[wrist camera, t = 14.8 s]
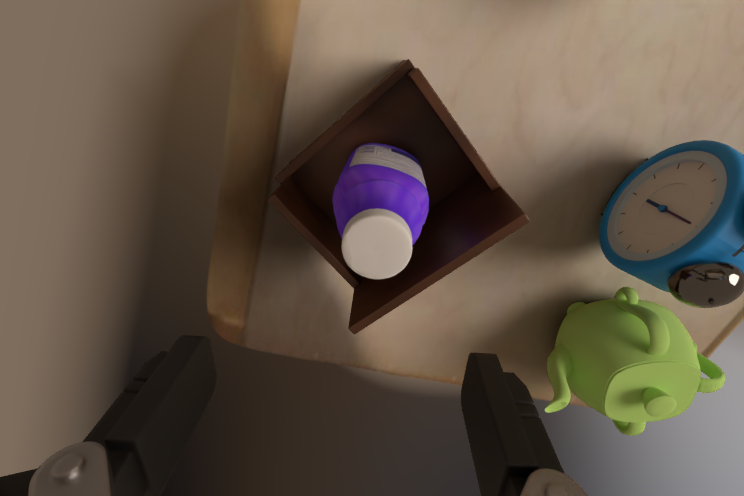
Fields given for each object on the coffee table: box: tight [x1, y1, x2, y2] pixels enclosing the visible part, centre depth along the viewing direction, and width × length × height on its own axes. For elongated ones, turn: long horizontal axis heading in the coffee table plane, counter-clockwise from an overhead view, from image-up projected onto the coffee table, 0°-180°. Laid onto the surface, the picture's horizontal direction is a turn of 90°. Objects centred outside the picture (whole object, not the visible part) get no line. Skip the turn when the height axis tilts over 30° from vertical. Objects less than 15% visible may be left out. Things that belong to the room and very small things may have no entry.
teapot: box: [545, 287, 725, 436], centre depth 44 cm, size 16×14×13 cm
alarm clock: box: [599, 140, 744, 308], centre depth 34 cm, size 13×6×15 cm, turn 154°
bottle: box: [332, 143, 429, 279], centre depth 29 cm, size 7×6×17 cm
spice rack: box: [268, 59, 530, 334], centre depth 33 cm, size 13×16×16 cm
